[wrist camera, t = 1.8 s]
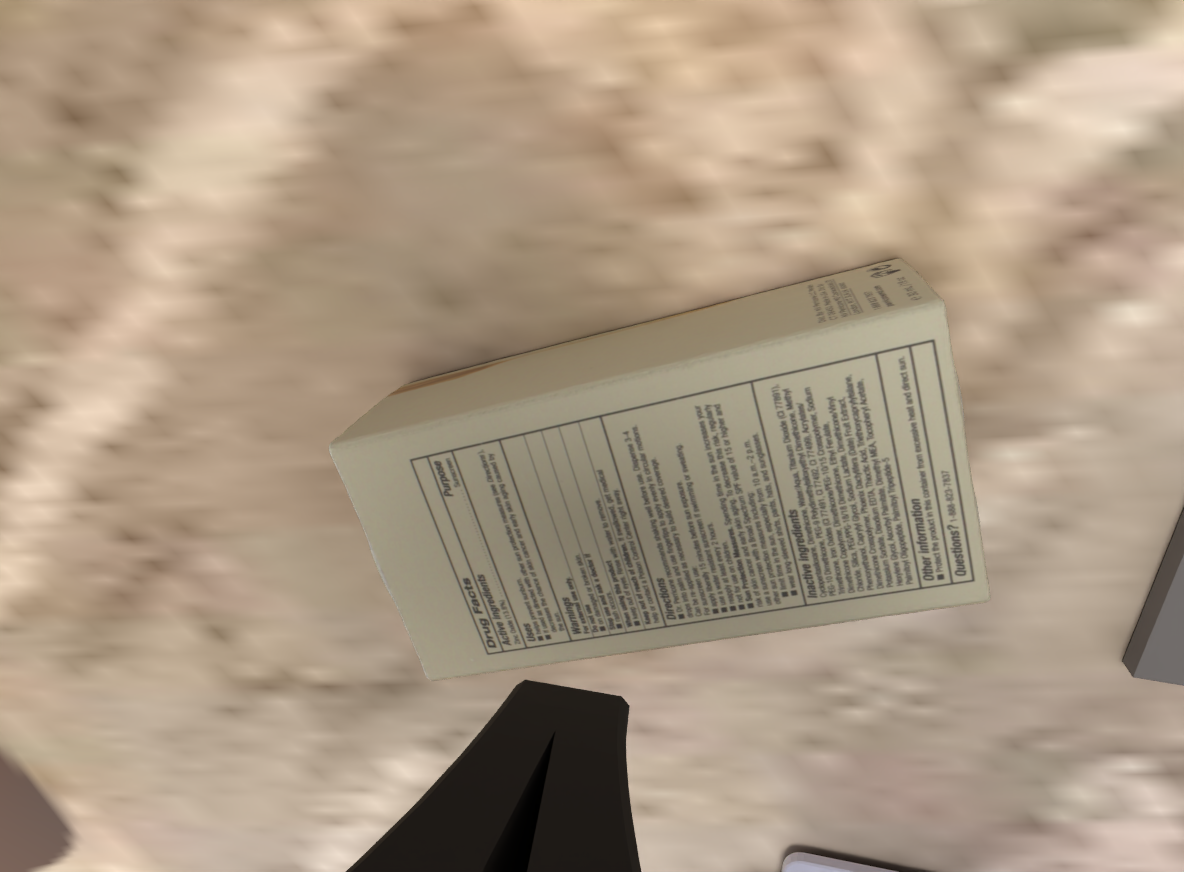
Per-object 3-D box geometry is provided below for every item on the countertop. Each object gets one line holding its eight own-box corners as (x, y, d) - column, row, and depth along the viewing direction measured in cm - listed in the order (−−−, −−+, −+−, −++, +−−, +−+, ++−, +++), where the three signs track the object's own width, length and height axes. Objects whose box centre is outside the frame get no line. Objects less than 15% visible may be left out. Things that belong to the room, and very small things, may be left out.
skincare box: (910, 250, 17) (399, 367, 20) (959, 294, 13) (314, 432, 16) (946, 516, 19) (478, 585, 22) (998, 623, 15) (419, 688, 18)
